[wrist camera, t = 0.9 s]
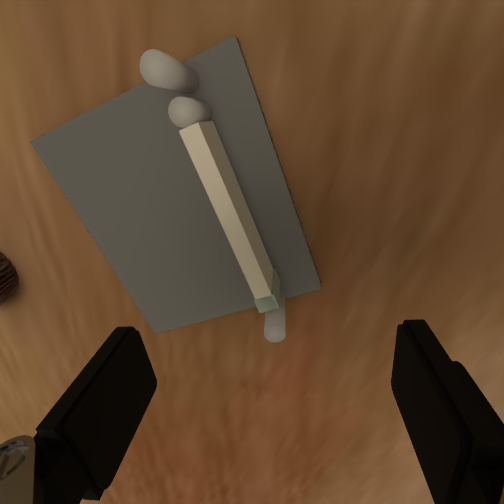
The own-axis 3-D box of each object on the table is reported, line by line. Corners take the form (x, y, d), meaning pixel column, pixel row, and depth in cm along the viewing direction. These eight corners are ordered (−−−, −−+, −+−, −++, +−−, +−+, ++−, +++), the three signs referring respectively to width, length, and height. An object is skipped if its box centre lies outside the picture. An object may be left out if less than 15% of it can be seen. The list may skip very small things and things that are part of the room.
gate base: (237, 38, 24) (217, 4, 17) (321, 284, 33) (331, 331, 26) (37, 140, 29) (-44, 149, 22) (158, 328, 38) (129, 378, 31)
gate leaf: (205, 95, 25) (187, 91, 20) (279, 280, 32) (279, 308, 27) (184, 105, 25) (163, 103, 20) (262, 285, 32) (259, 313, 28)
